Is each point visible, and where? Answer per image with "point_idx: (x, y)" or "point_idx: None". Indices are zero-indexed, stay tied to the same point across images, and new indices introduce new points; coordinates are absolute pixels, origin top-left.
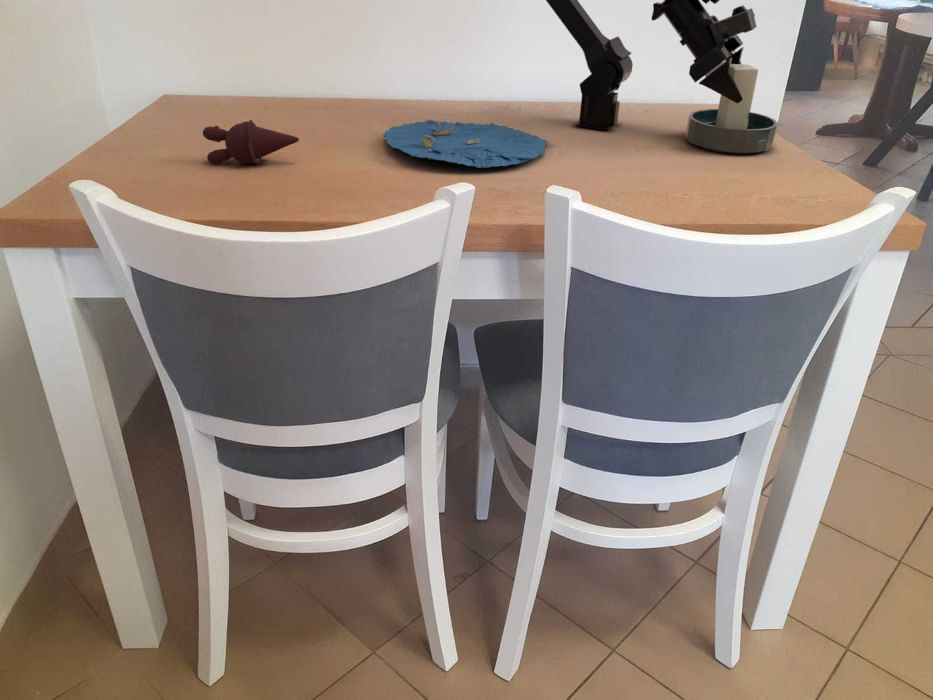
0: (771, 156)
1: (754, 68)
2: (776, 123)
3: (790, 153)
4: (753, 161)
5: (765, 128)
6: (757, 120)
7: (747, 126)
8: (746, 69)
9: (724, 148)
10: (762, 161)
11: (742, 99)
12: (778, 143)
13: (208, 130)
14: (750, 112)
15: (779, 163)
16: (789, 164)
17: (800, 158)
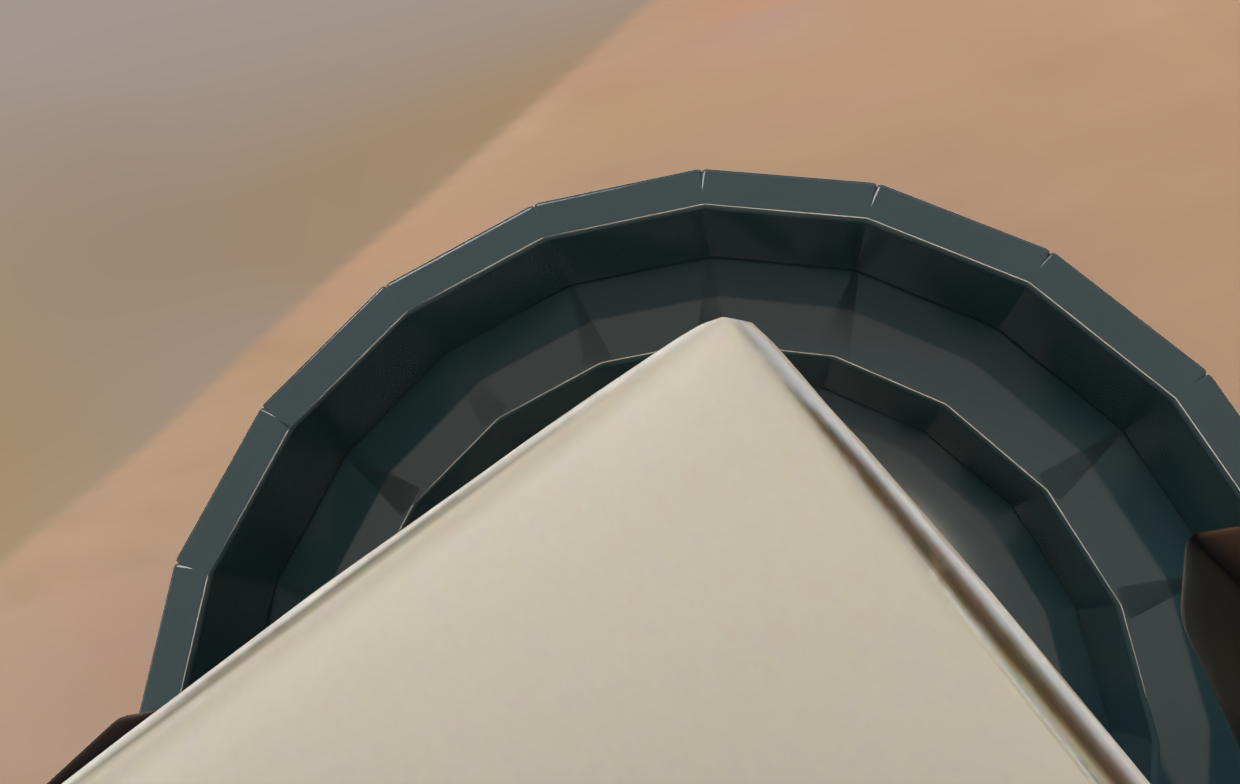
0: None
1: (728, 460)
2: (568, 209)
3: (639, 124)
4: (1181, 288)
5: (922, 226)
6: (267, 544)
7: None
8: (1028, 694)
9: None
10: (1110, 224)
11: (1230, 527)
12: None
13: None
14: (177, 667)
15: (1052, 88)
16: (1014, 15)
17: (744, 10)
